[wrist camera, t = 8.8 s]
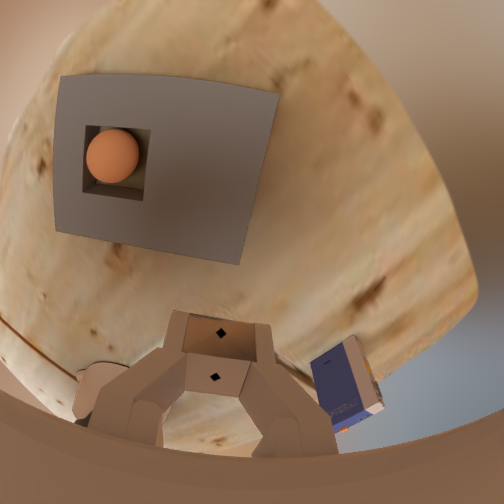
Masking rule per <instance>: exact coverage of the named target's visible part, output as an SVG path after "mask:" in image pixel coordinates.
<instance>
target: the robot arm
mask: <svg viewBox="0 0 504 504" xmlns="http://www.w3.org/2000/svg"><path fill="white" fill-rule="evenodd" d="M76 379H77V380H78V382H79V383H80V384H79V387H78V390H77V393H76V396H75V400H74V403H73V407H72V412H73V413H74V415H75V417H76V419H77V420H76V421H75V423H72V422H69V421H67V420H64V419H62V418H59V417H57V416H54V415H52V414H49V413H47V412H45V411H42V410H40V409H38V408H36V407H34V406H31V405H29V404H27V403H25V402H23V401H21V400H19V399H17V398H15V397H13V396H11V395H10V394H8V393H6V392H4V391H2V390H0V504H504V408H503V409H501V410H499V411H497V412H495V413H493V414H490V415H488V416H486V417H483V418H481V419H479V420H476V421H473V422H471V423H468V424H466V425H463V426H460V427H457V428H454V429H451V430H448V431H445V432H442V433H439V434H436V435H432V436H429V437H425V438H422V439H418V440H414V441H410V442H406V443H402V444H398V445H393V446H388V447H383V448H377V449H372V450H366V451H359V452H353V453H345V454H339V452H338V449H337V443H336V439H335V435H334V430H333V426H332V422H331V418H330V416H329V415H328V414H327V413H326V412H325V411H324V410H323V409H322V408H321V407H320V406H319V405H318V404H317V403H316V402H315V401H314V399H313V398H312V397H311V396H310V395H309V394H308V393H307V392H306V391H305V390H304V389H303V388H302V387H301V386H300V385H299V384H298V383H297V382H296V381H295V380H294V379H293V377H292V376H291V375H290V374H289V373H288V372H287V371H286V370H285V369H284V368H283V367H282V366H281V365H278V364H276V361H275V354H274V347H273V339H272V332H271V327H270V325H267V324H258V323H247V322H240V321H233V320H226V319H219V318H214V317H208V316H203V315H198V314H193V313H186V312H181V311H176V310H173V312H172V314H171V318H170V321H169V325H168V329H167V333H166V336H165V340H164V344H163V348H158V347H157V348H156V349H155V350H153V351H152V352H151V353H149V354H148V355H146V356H145V357H144V358H142V359H141V360H139V361H138V362H137V363H135V364H134V365H133V366H131V367H130V368H127V367H124V366H121V365H117V364H113V363H104V362H101V363H95V364H92V365H90V366H89V367H88V368H87V369H86V370H82V371H78V372H77V374H76ZM184 390H186V391H193V392H201V393H210V394H217V395H224V396H231V397H239V400H240V402H241V403H242V405H243V406H244V408H245V409H246V411H247V413H248V414H249V416H250V417H251V419H252V420H253V422H254V423H255V425H256V426H257V428H258V429H259V431H260V432H261V434H262V435H263V438H262V439H261V441H260V442H259V444H258V446H257V447H256V448H255V450H254V451H253V453H252V457H233V456H220V455H209V454H201V453H193V452H186V451H180V450H174V449H168V448H163V445H164V444H163V431H162V426H163V424H164V422H165V420H166V418H167V416H168V414H169V412H170V409H171V407H172V405H173V403H174V402H175V401H176V400H177V399H178V398H179V397H180V396H181V395H182V393H183V392H184Z"/></svg>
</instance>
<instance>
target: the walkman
mask: <svg viewBox="0 0 504 504" xmlns="http://www.w3.org/2000/svg"><path fill="white" fill-rule="evenodd" d="M310 364H311V368H312V373H313V377H314V382H315V387H316V391H317V396H318V401H319V406H320V407H321V408H322V409H323V410H324V411H325V412H326V413H327V414H328V415H329V416H330V418H331V422H332V426H333V430H334V433H337V432H344V431H346V430H348V429H349V427H350V426H352V425H354V424H356V423H358V422H360V421H362V420H364V419H366V418H368V417H370V416H372V415H374V414H375V413H377V412H379V411H381V410H383V409H384V408H385V405H384V403H383V400H382V394H381V392H380V389H379V387H378V384H377V382H376V381H375V378H374V376H373V373H372V370H371V368H370V365H369V363H368V360H367V357H366V355H365V352H364V350H363V347H362V345H361V343H360V342H359V340H358V338H356V337H355V336H354V335H352V336H351V337H349V338H348V339H346V340H345V341H343V342H342V343H340V344H339V345H337V346H336V347H334V348H333V349H331V350H330V351H328V352H327V353H325V354H323V355H322V356H320V357H319V358H317V359H315V360H314V361H312V362H311V363H310Z"/></svg>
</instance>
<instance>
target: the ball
mask: <svg viewBox="0 0 504 504" xmlns="http://www.w3.org/2000/svg"><path fill="white" fill-rule="evenodd" d="M138 160H139V147H138V144H137V142H136V140H135V138H134V137H133V136H132V135H131V134H130V133H128V132H127V131H125V130H122V129H115V128H114V129H108V130H105V131H103V132H101V133H99V134H98V135H97V136H96V137H95V138H94V139H93V140H92V142H91V143H90V145H89V147H88V150H87V156H86V161H87V166H88V169H89V171H90V172H91V174H92V175H93V176H94V177H95V178H96V179H98V180H100V181H102V182H105V183H116V182H119V181H122V180H124V179H125V178H127V177H128V176H129V175H130V174H131V173H132V172H133V171H134V169H135V168H136V166H137V163H138Z"/></svg>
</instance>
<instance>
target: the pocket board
mask: <svg viewBox="0 0 504 504" xmlns="http://www.w3.org/2000/svg"><path fill="white" fill-rule="evenodd" d="M279 96H280V94H276V93H271V92H267V91H262V90H258V89H253V88H248V87H243V86H238V85H232V84H226V83H220V82H214V81H207V80H199V79H191V78H182V77H172V76H159V75H141V74H87V75H70V76H61V78H60V84H59V91H58V98H57V106H56V116H55V128H54V144H53V198H54V215H55V227H56V231H58V232H63V233H68V234H73V235H78V236H83V237H88V238H93V239H98V240H104V241H109V242H114V243H119V244H124V245H130V246H135V247H140V248H146V249H151V250H156V251H162V252H167V253H173V254H178V255H184V256H189V257H195V258H200V259H206V260H212V261H217V262H223V263H229V264H234V265H239V263H240V259H241V254H242V250H243V246H244V241H245V237H246V233H247V229H248V224H249V220H250V216H251V212H252V207H253V203H254V199H255V195H256V191H257V186H258V182H259V178H260V174H261V170H262V165H263V161H264V157H265V153H266V149H267V145H268V141H269V137H270V132H271V128H272V124H273V120H274V116H275V112H276V108H277V104H278V100H279ZM100 126H111V127H124V128H136V129H146V130H151V133H150V140H149V147H148V155H147V164H146V173H145V183H144V190H139V189H132V188H125V187H118V186H111V185H103V184H96V178H95V177H94V176H93V175H92V174H91V172H90V171H89V169H88V166H87V161H86V156H87V150H88V147H89V145H90V143H91V142H92V140H93V139H94V138H95V137H96V136H97V135H98V134H99V129H100Z"/></svg>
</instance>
